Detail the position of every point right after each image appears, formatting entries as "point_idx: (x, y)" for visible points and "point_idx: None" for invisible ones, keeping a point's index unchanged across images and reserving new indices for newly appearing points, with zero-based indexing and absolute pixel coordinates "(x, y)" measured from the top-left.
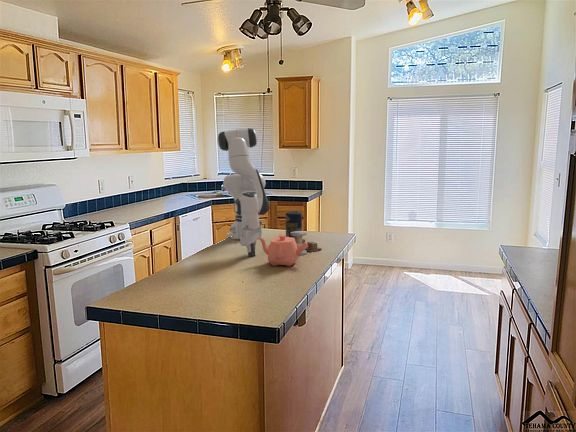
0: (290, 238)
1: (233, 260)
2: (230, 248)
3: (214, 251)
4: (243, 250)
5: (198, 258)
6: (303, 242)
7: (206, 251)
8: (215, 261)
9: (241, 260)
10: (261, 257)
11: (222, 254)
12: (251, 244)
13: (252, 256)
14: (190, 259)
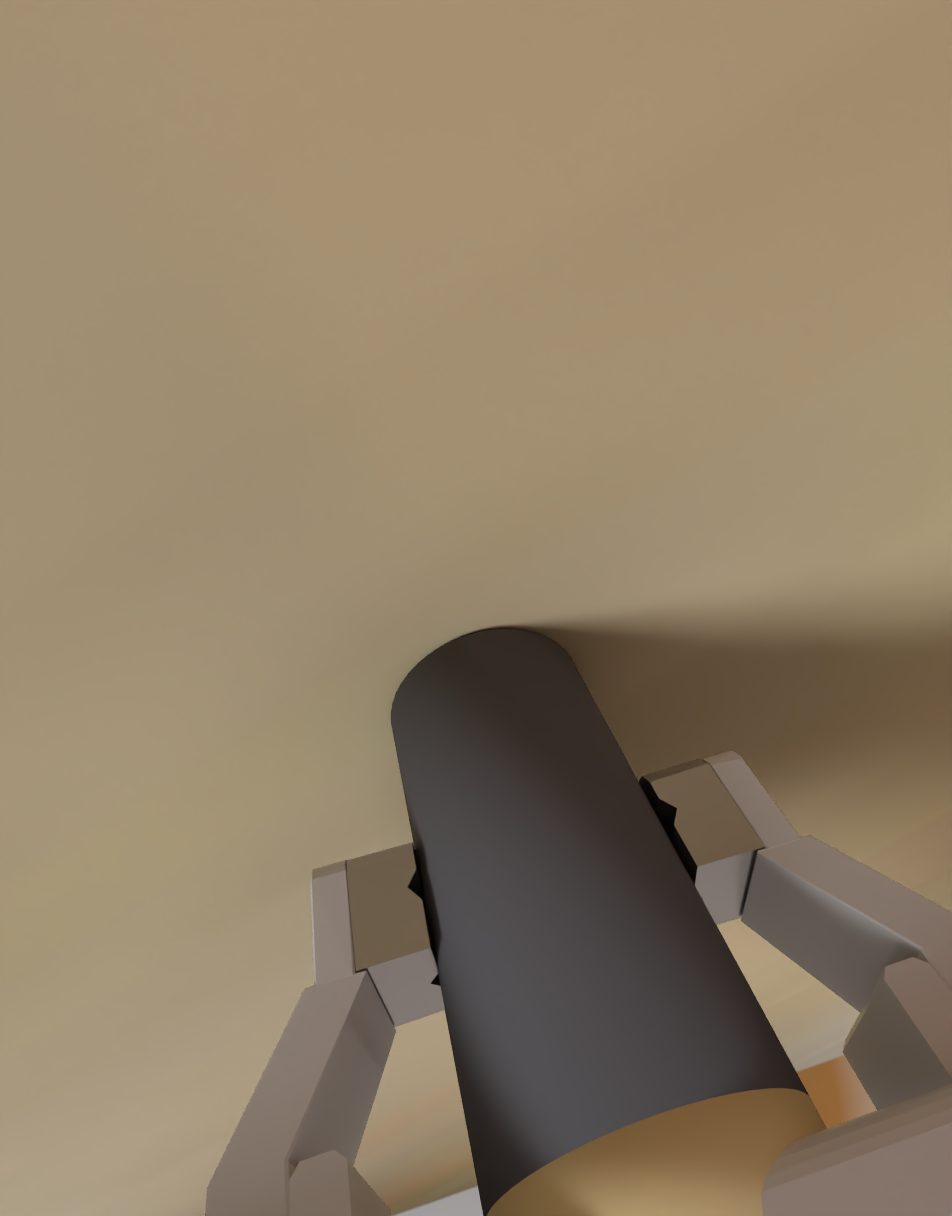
0: None
1: (897, 752)
2: (177, 1179)
3: (445, 1146)
4: (143, 1051)
5: (792, 1039)
6: None
7: None
8: (936, 878)
9: (906, 645)
10: (547, 362)
11: None
12: (772, 1032)
13: (561, 648)
14: (834, 1047)
